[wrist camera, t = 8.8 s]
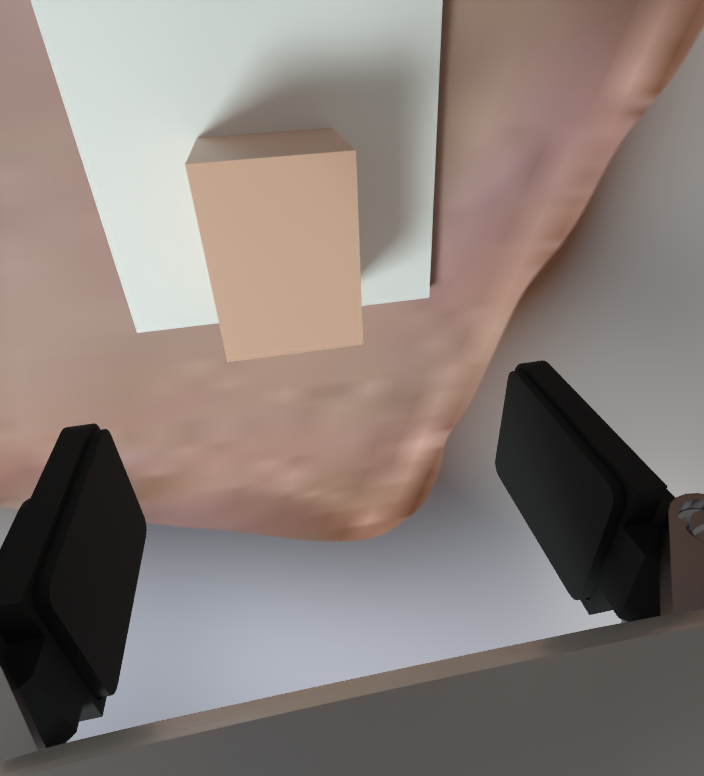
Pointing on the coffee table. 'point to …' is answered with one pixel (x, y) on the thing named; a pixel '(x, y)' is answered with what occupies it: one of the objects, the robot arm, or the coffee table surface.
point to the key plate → (246, 124)
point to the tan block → (280, 239)
